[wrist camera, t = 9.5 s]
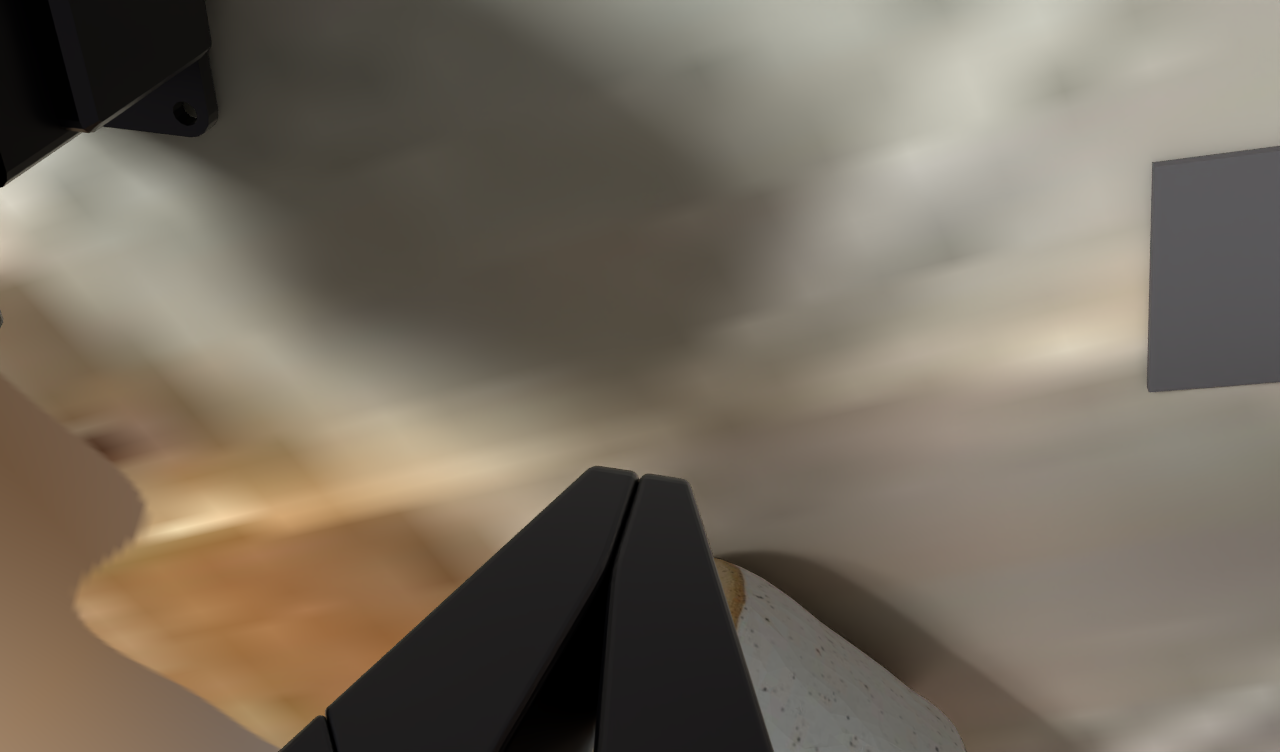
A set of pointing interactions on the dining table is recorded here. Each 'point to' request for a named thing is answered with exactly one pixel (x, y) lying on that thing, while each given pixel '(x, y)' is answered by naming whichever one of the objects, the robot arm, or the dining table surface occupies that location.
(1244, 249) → the mats
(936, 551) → the dining table surface
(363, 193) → the dining table surface
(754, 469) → the dining table surface
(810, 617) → the ceramic mug
